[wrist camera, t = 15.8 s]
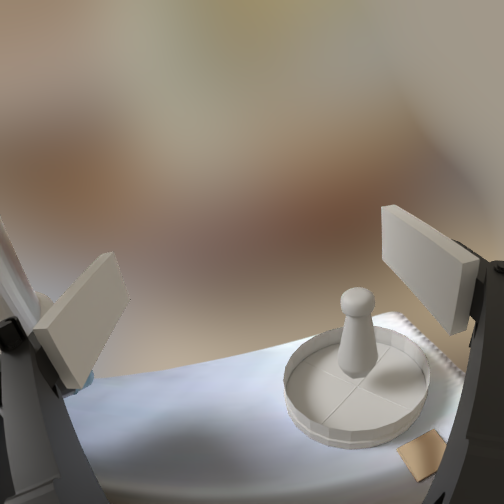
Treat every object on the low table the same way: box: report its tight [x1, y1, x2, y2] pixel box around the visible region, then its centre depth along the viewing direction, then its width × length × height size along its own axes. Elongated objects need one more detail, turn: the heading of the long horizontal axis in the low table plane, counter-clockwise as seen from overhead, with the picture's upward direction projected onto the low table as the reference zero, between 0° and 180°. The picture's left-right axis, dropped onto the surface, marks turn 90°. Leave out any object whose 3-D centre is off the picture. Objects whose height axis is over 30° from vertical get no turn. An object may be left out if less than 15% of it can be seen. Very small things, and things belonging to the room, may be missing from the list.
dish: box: [283, 326, 430, 449], centre depth 42 cm, size 22×22×5 cm
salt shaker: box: [337, 287, 378, 379], centre depth 39 cm, size 6×6×13 cm
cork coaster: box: [397, 429, 446, 482], centre depth 28 cm, size 6×6×1 cm
